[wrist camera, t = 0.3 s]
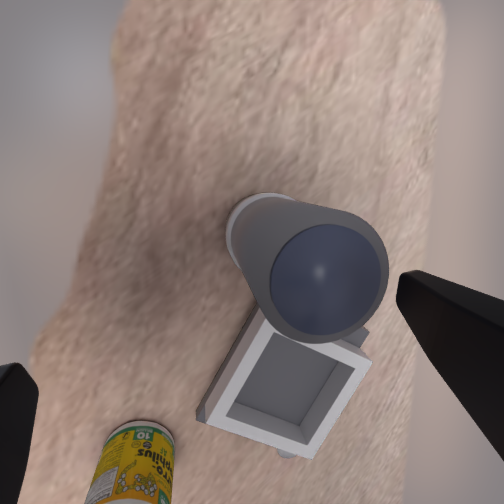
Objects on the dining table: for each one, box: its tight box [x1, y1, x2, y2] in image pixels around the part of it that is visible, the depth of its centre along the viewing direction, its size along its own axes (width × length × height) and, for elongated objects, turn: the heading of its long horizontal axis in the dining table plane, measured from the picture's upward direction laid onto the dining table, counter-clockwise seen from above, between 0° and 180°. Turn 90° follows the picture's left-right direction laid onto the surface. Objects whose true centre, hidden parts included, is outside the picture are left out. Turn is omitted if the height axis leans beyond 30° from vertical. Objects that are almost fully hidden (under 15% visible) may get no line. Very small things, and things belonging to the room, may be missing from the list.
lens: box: [225, 192, 389, 344], centre depth 17 cm, size 5×5×12 cm
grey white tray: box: [196, 303, 373, 460], centre depth 24 cm, size 12×9×3 cm
